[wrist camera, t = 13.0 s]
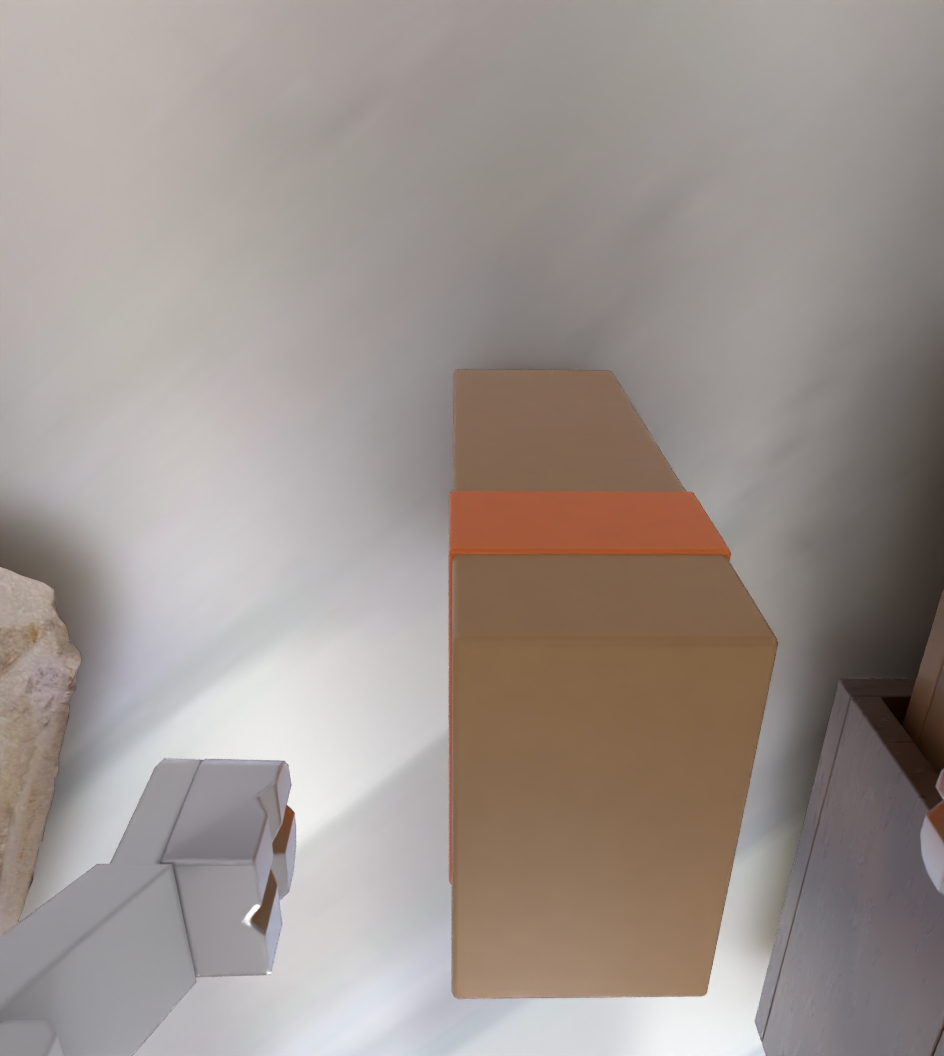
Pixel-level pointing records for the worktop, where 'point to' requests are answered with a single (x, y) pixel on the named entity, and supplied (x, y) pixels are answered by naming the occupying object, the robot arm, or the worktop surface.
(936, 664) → the drawer
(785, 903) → the cabinet
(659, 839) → the block
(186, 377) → the worktop surface
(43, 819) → the fish fossil
